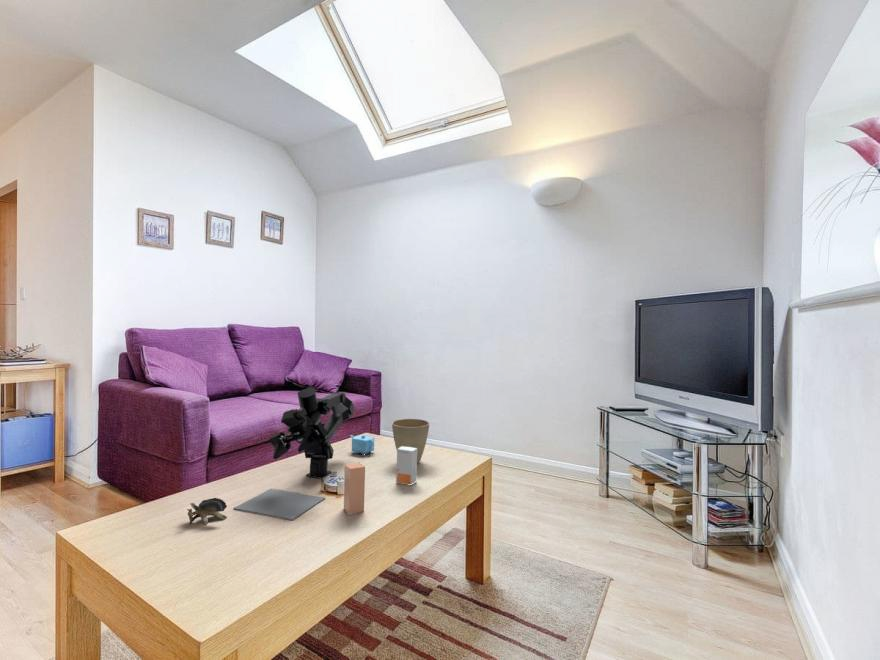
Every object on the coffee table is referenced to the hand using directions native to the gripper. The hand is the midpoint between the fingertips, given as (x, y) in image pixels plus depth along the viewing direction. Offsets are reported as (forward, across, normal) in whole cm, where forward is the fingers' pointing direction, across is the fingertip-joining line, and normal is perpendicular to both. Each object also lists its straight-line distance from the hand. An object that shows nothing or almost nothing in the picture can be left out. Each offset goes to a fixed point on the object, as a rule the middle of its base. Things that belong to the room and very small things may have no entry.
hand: (286, 454), depth 131 cm
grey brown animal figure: (+21, -15, +1) cm, 26 cm away
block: (+7, +16, +20) cm, 26 cm away
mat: (+8, -5, +11) cm, 14 cm away
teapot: (-43, -8, +35) cm, 56 cm away
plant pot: (-35, +14, +40) cm, 55 cm away
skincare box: (-15, +21, +33) cm, 42 cm away
